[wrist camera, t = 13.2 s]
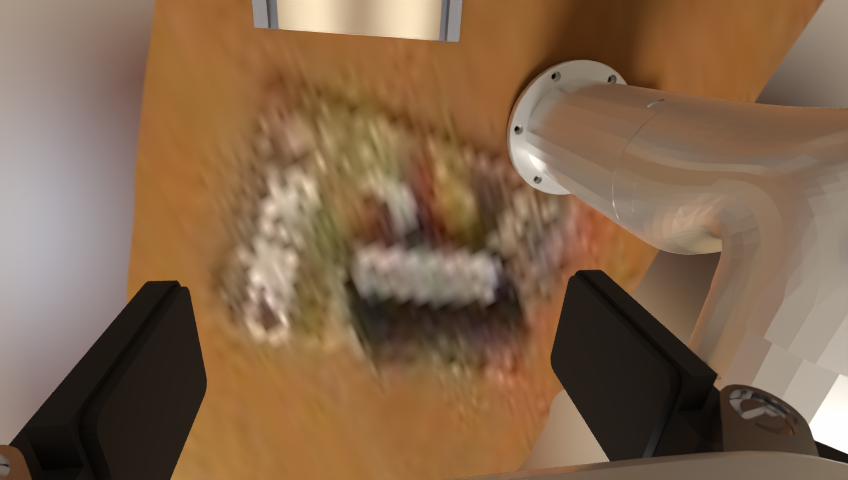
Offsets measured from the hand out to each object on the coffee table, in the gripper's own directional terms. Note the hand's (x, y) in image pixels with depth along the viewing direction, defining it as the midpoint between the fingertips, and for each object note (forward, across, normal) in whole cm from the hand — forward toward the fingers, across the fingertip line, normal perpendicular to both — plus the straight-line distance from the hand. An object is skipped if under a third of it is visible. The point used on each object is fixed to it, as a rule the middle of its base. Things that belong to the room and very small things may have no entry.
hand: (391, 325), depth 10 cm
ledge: (+30, 0, -9) cm, 32 cm away
